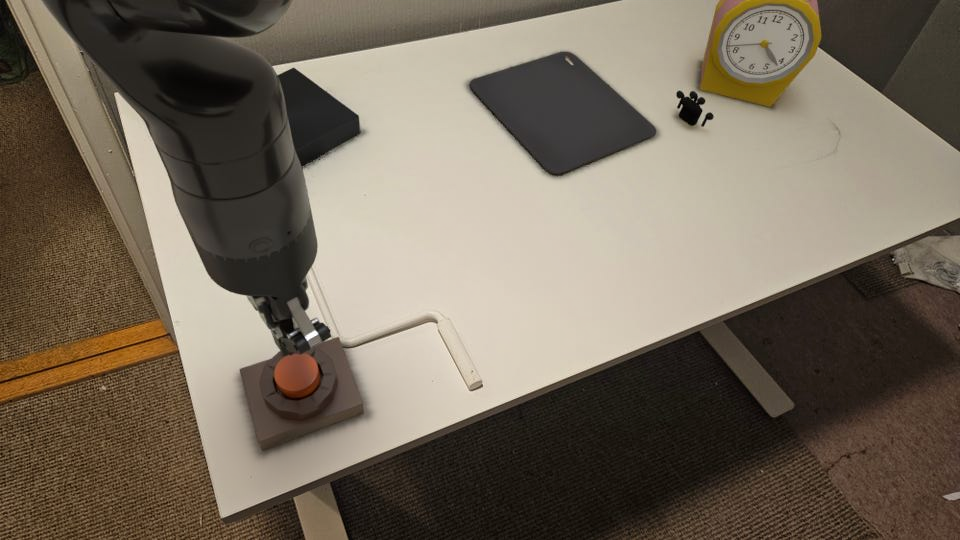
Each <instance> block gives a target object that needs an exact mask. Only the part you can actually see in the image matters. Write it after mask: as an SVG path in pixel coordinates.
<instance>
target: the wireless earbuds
mask: <svg viewBox="0 0 960 540" xmlns="http://www.w3.org/2000/svg"><path fill="white" fill-rule="evenodd" d="M675 95H676V98H677V99H679V102H678V104H677V106H676V108H677V109H678V110H679V109H680V111H679V113H678V117H679V119H680V120H682V121H683V122H684V123H686V124H687V125H688V126H690V127H693V126H696V125H697V123H698V121H699V119H700V118H701V116H702V113H703V108H702V107H701V106H703V105H705V103H706V98H705V97H703V96H699V95H698V93H697V92H696V91H695V90H691V91H690V92H689V94H688V96H685V93H684V92H683V91H682V90H677V91H676V93H675ZM714 118H715V116H714V113H713V112H711V111H709V112H707V113H706V114H705V115H704V119H703V121H702V123H701V128H704V127H705V125H706V123H707V121H712V120H714Z"/></svg>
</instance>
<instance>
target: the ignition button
mask: <svg viewBox="0 0 960 540" xmlns="http://www.w3.org/2000/svg"><path fill="white" fill-rule="evenodd" d="M274 378H275V381H276V384H277V386H278V389H279V391H280V392H281V393H282V394H283V395H285V396H286V397H289V398H294V399H298V398H303V397H306V396H308V395H310V394H311V393H312V392H313V391H314V390H315V389H316V388H317V386H318V384H319V382H320V373H319V369H318V365H317V362H316V361H315V359H314V358H313V357H311V356H310V355H308V354H305V353H303V354H302V355H299V354H296V353H295V354H293V355H291V356H290V355H288V356H285V357H284V358H282V359H281V360H280V361H279V362H278V364H277V365H276V368H275V371H274Z"/></svg>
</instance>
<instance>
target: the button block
mask: <svg viewBox="0 0 960 540" xmlns="http://www.w3.org/2000/svg"><path fill="white" fill-rule="evenodd" d="M305 354H308V355H310V356H311V357H313V358H314V359H315V361H316V362H317V365H318V369H319V373H320V382H319V384H318V386H317V388H316V389H315V390H314V391H313V392H312V393H311V394H310V395H308V396H306V397H303V398H298V399H294V398H289V397H286V396H285V395H283V394H282V393H281V392H280V391H279V389H278V386H277V384H276V381H275V378H274V371H275V368H276V365H277V364H278V362H279V361H280V360H281V359H282V358H284V357H285V356H284V355H283V354H282V352H281V351H280V350H279V351H278V352H276V354H274V355H273V356H272V357H271V358H269V359H266V360H262V361H261V362H260V361H259V362H256V363H254V364H251V365H248V366H244V367H241V368H239V373H240V377H241V382H242V386H243V389H244V393H245V397H246V401H247V406H248V410H249V412H250V416H251V420H252V424H253V428H254V432H255V436H256V440H257V443H258V445H259V446H260V448H261V450H262V451H264V450H266V449H270V448H272V447H275V446H277V445H280V444H283V443H285V442H288V441H291V440H293V439H296V438H297V439H298V438H299V437H302V436H304V435H307V434H310V433H312V432H315V431H318V430H320V429H323V428H326V427H329V426H331V425H334V424H337V423H340V422H342V421H345V420H347V419H350V418H353V417H355V416H356V417H357V416H358V415H361V414H364V413H365V406H364V401H363V398H362V396H361V394H360V390H359V387H358V386H357V383H356V379H355V377H354V374H353V372H352V369H351V367H350V364H349V361H348V358H347V355H346V352H345V349H344V346H343V345H342V341H341V339H340V337H339V336H336V337H334V338H329V339H327V340H325V341H324V342H322V343H320V344H319V345H317V346H315V347H313V348H312V349H310V350H308V351H307V352H305Z"/></svg>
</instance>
